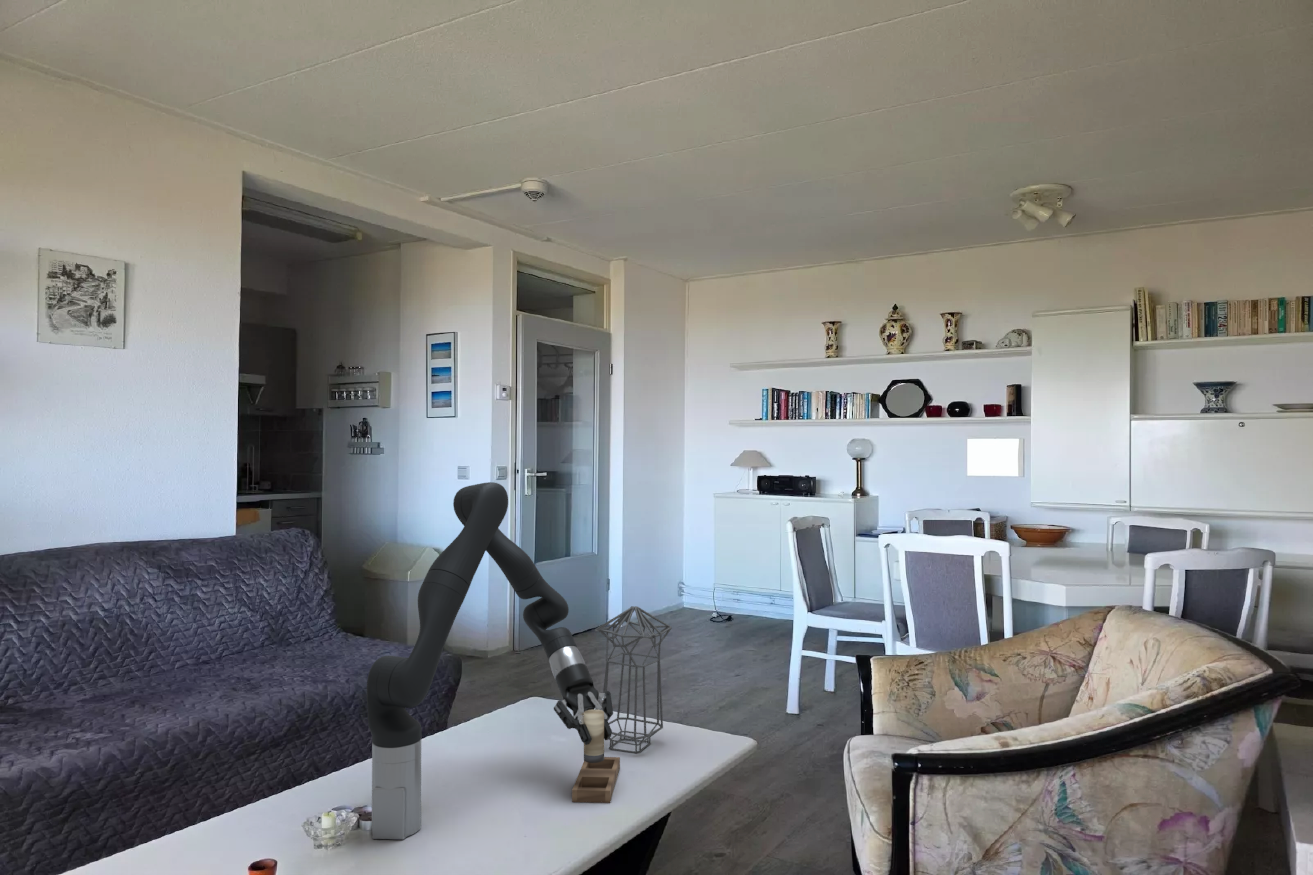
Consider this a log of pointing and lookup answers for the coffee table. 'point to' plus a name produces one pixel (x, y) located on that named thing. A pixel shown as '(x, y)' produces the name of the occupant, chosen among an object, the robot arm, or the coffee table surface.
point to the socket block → (596, 781)
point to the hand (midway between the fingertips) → (598, 740)
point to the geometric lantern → (641, 619)
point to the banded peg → (594, 736)
